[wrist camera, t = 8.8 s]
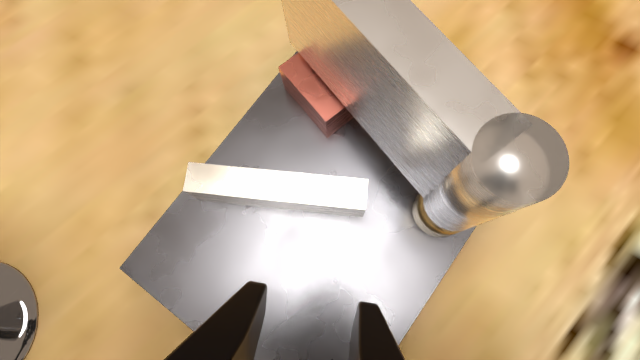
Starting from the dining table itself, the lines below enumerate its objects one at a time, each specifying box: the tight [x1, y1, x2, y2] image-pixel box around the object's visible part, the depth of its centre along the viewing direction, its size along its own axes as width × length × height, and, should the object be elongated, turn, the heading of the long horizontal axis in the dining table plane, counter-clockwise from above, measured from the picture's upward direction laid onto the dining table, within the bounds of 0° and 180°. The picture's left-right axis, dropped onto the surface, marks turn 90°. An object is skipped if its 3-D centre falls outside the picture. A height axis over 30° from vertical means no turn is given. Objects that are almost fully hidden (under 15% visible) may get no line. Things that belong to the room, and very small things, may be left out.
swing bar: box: [281, 0, 569, 231], centre depth 16 cm, size 13×3×7 cm, turn 37°
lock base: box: [120, 51, 476, 360], centre depth 21 cm, size 17×14×4 cm
